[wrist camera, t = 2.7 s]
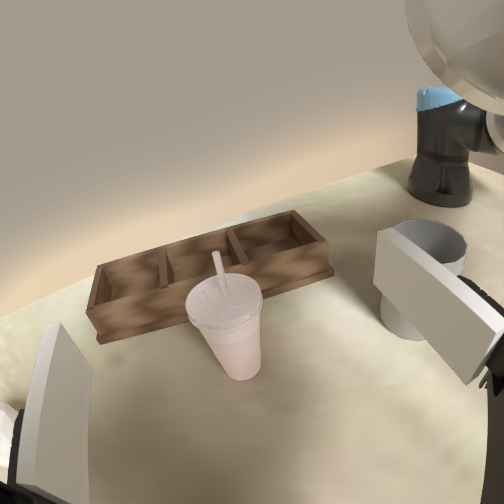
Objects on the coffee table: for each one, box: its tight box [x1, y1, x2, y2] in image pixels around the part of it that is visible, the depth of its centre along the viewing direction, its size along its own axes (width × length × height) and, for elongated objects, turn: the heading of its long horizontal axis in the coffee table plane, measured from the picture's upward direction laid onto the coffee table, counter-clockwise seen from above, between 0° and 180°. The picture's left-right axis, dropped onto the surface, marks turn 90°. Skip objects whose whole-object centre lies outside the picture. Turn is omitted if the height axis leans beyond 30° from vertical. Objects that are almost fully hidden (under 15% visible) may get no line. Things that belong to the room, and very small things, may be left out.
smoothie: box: [185, 251, 263, 381], centre depth 26 cm, size 6×6×14 cm
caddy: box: [86, 210, 334, 344], centre depth 41 cm, size 32×12×5 cm, turn 106°
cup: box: [380, 219, 468, 341], centre depth 29 cm, size 8×8×10 cm
